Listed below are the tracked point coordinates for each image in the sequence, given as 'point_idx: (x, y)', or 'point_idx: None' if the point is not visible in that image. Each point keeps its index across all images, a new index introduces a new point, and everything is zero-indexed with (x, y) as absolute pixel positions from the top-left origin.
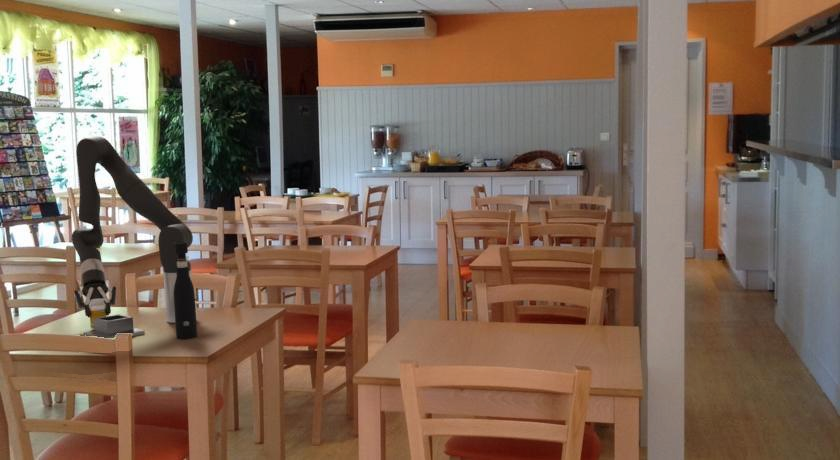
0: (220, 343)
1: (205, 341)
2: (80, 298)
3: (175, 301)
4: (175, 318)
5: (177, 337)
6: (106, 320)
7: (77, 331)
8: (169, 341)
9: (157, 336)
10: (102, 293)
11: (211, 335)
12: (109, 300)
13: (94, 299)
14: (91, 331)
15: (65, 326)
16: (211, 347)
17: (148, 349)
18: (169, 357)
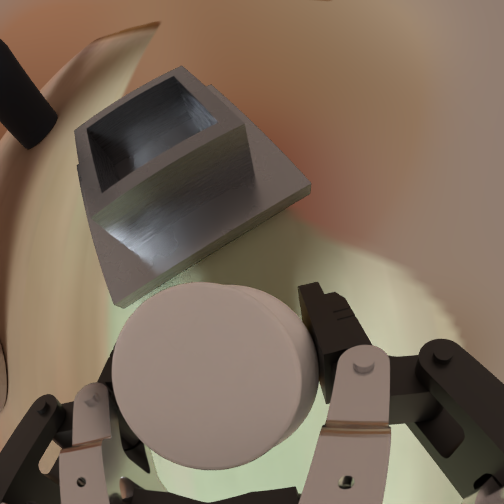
0: None
1: None
2: (470, 409)
3: (14, 58)
4: (33, 89)
5: (56, 115)
6: (179, 80)
7: None
8: (78, 97)
9: (72, 140)
10: (87, 495)
11: (14, 143)
12: (74, 402)
13: (235, 400)
14: (274, 199)
15: (439, 493)
16: (61, 73)
17: (133, 50)
18: (126, 30)
